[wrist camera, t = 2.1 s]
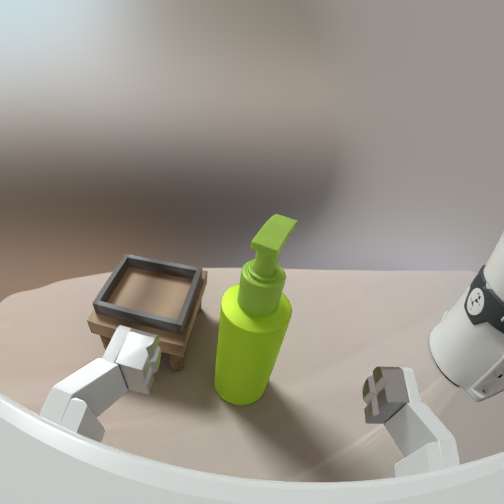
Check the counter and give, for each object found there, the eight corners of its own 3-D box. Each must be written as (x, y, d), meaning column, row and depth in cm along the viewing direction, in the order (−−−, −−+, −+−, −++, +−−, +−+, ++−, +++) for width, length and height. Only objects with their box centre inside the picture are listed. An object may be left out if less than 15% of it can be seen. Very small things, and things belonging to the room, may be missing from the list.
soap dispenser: (275, 367, 35) (323, 223, 24) (253, 413, 30) (301, 272, 18) (231, 349, 37) (254, 201, 25) (205, 391, 31) (213, 240, 20)
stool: (205, 304, 42) (207, 261, 38) (184, 376, 32) (182, 336, 28) (133, 289, 42) (127, 246, 38) (99, 352, 32) (83, 311, 28)
